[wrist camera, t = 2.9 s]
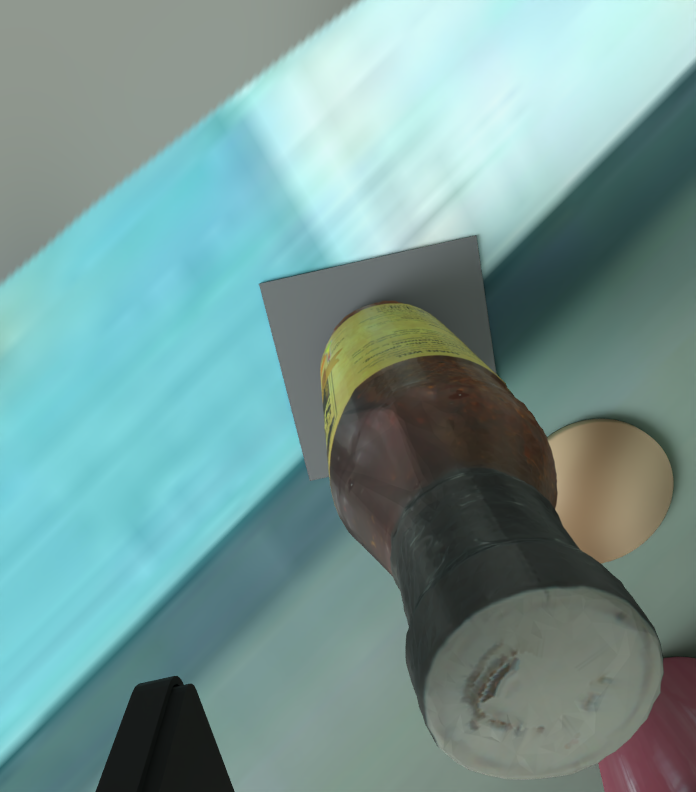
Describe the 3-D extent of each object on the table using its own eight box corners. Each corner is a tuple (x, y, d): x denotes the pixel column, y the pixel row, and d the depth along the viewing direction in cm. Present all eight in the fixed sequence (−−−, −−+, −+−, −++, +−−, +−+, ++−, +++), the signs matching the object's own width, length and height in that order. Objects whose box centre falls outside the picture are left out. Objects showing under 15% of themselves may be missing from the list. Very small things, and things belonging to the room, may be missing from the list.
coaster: (662, 403, 30) (669, 407, 29) (670, 541, 32) (676, 547, 31) (504, 437, 30) (508, 441, 29) (524, 572, 32) (527, 578, 32)
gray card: (475, 235, 27) (476, 235, 27) (504, 437, 30) (505, 438, 30) (259, 283, 27) (259, 283, 27) (309, 479, 30) (309, 480, 30)
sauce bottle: (293, 349, 28) (233, 644, 9) (403, 268, 27) (599, 403, 8) (374, 452, 29) (470, 886, 11) (480, 380, 29) (793, 710, 10)
